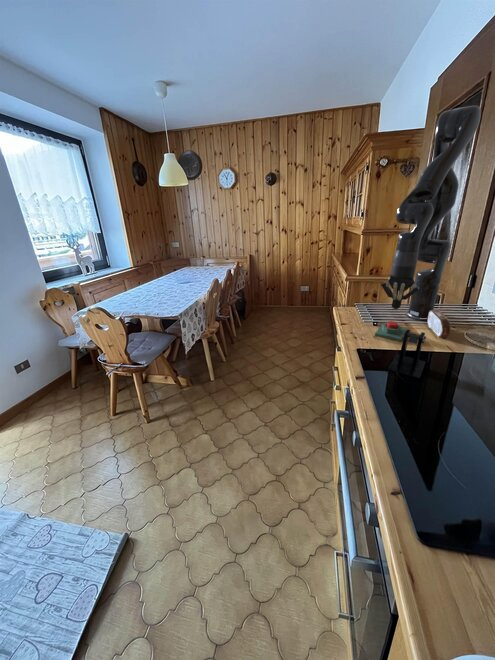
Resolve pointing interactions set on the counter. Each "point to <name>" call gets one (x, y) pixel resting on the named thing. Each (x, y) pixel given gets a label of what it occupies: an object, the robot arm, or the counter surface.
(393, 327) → the button
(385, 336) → the button box
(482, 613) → the counter surface
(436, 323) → the white and brown slab
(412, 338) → the lever
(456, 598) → the counter surface
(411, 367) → the bracket
